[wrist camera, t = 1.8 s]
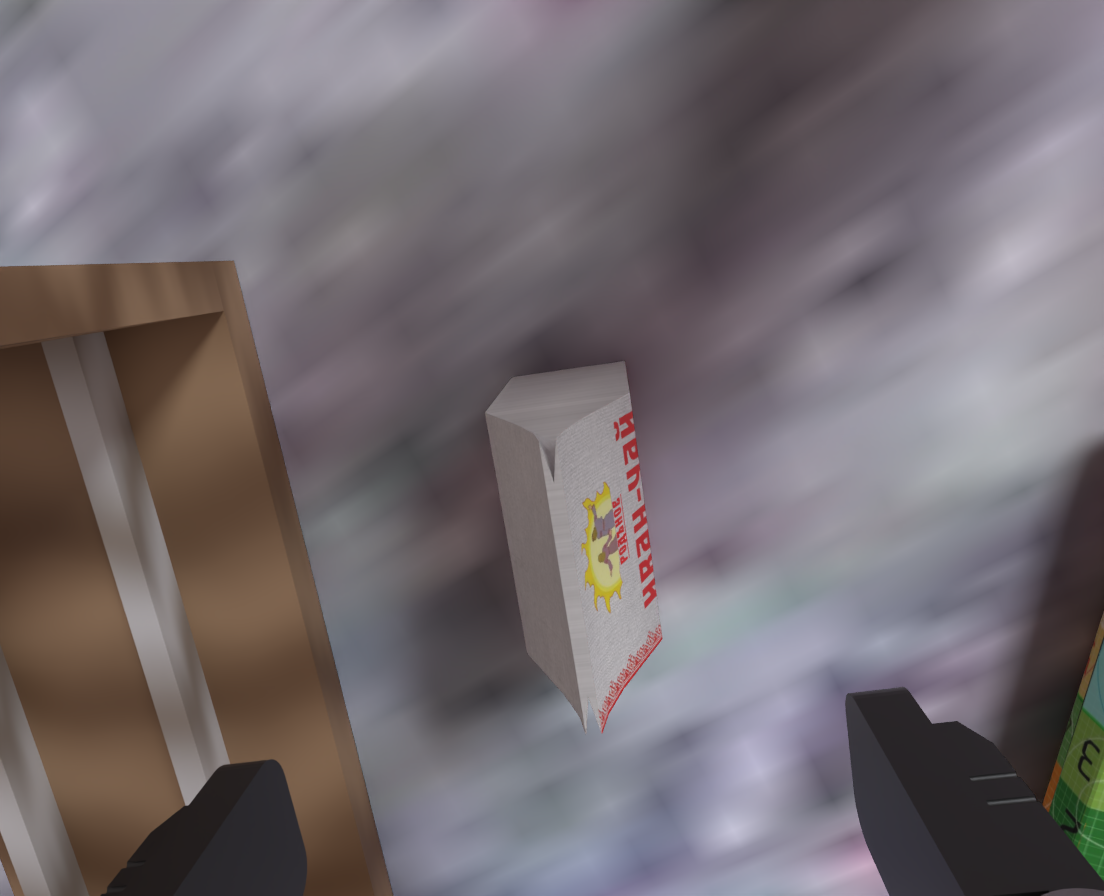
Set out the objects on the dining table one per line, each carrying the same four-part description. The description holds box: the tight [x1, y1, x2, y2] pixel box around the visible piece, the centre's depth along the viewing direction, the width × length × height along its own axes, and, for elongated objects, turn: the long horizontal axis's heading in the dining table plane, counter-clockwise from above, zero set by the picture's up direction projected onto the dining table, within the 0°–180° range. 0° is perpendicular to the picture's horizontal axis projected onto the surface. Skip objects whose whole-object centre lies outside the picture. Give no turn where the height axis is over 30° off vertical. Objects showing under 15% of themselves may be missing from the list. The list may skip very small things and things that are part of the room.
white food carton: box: [485, 361, 662, 733], centre depth 22 cm, size 4×7×10 cm, turn 9°
